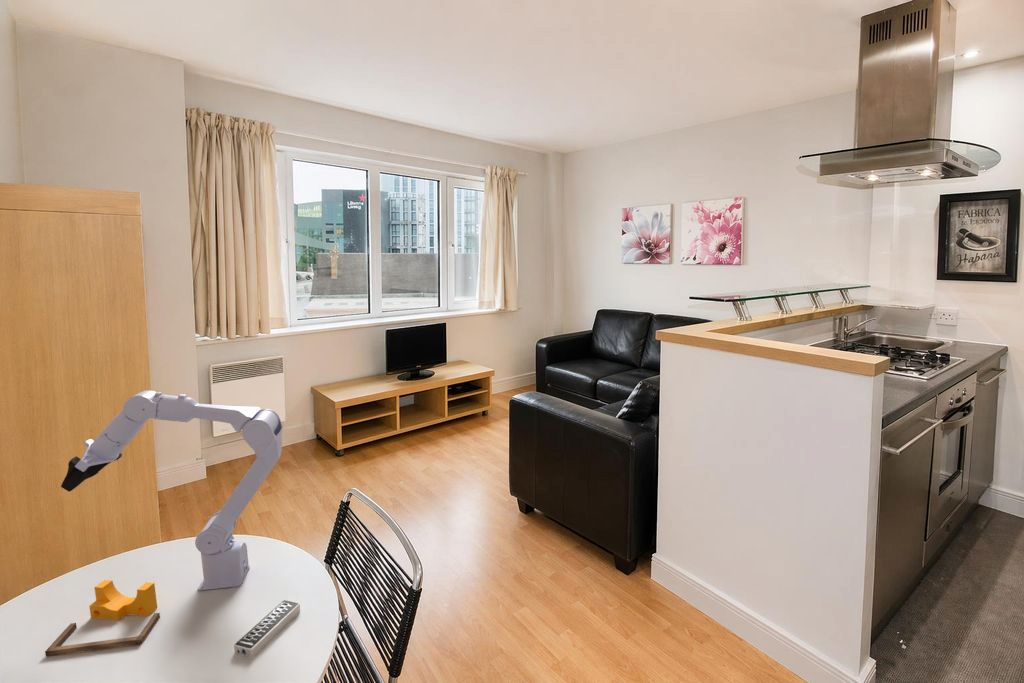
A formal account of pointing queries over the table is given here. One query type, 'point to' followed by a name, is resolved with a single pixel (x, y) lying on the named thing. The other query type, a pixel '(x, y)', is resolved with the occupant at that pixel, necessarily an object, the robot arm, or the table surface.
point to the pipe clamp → (122, 601)
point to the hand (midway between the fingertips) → (76, 481)
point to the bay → (99, 645)
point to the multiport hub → (266, 629)
